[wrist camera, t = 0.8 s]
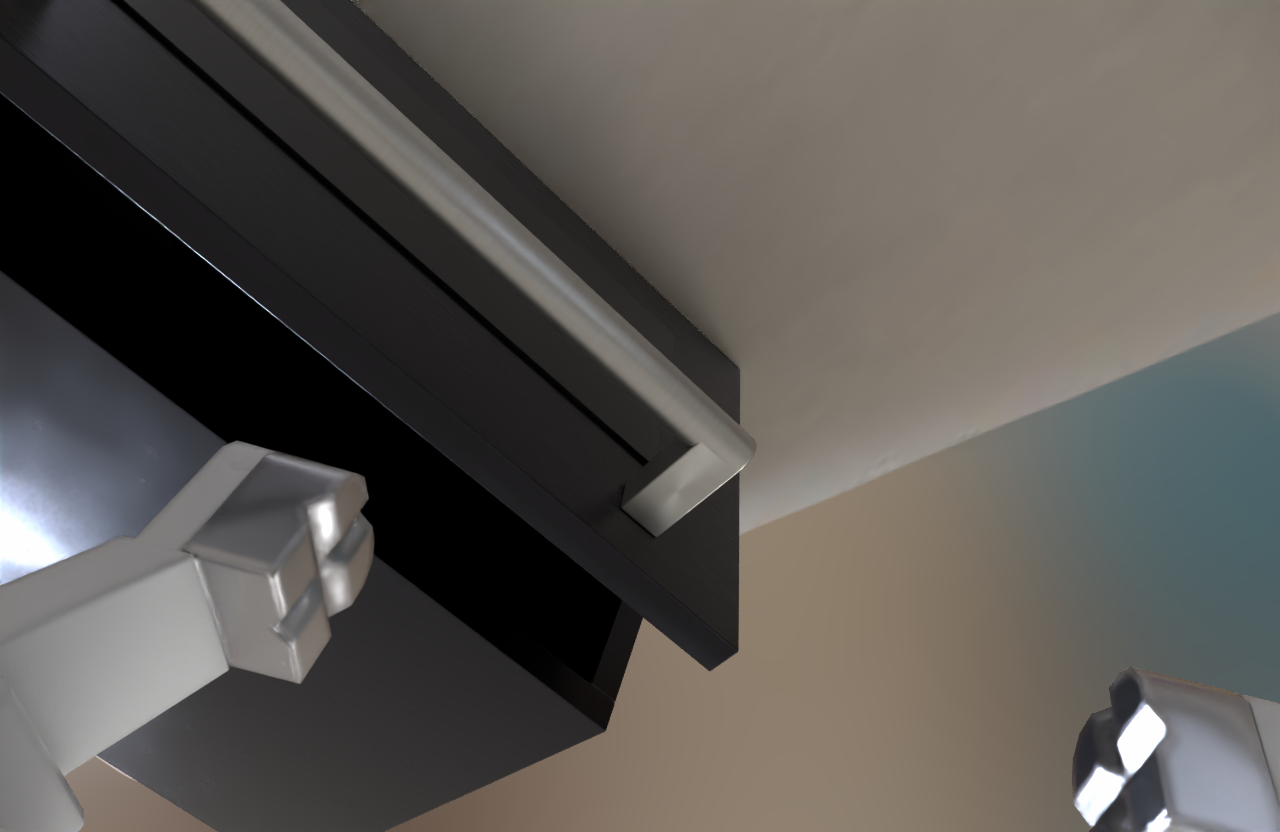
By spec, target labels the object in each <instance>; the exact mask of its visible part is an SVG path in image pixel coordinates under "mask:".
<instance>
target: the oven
mask: <svg viewBox="0 0 1280 832" xmlns="http://www.w3.org/2000/svg"><path fill="white" fill-rule="evenodd" d="M234 441H240V442H244V443H248V444H251V445H255V446H259V447H262V448H266V449H270V450H273V451H279V452H282V453H286V454H290V455H293V456H297V457H300V458H304V459H307V460H311V461H315V462H318V463H322V464H325V465H329V466H332V467H336V468H340V469H343V470H347V471H350V472H354V473H357V474H359V475H361V476H363V477H365V482H366V487H367V493H368V498H369V499H368V500H367V502H366V503H365V505H364V506H363V508H362V509H361V510H360V512H361V513H362V515H363V516H364V517H365V518H366V519H367V521H368V522H369V523H370V524H371V525H372V527H373V534H374V552H373V561H372V564H371V567H370V570H369V572H368V575H367V578H366V581H365V584H364V586H363V588H362V589H361V591H360V592H359V594H358V596H357V597H356V599H355V601H354V602H353V604H352V605H351V606H349V607H347V608H346V609H344V610H342V611H340V612H338V613H336V614H334V615H332V616H330V617H329V622H330V629H331V638H330V639H329V641H328V642H327V644H326V646H325V647H324V649H323V650H322V652H321V653H320V655H319V656H318V658H317V659H316V661H315V662H314V664H313V665H312V667H311V668H310V670H309V672H308V673H307V675H306V676H305V678H304V679H303V681H302V682H301V684H299V683H295V682H291V681H287V680H283V679H279V678H276V677H272V676H268V675H264V674H260V673H256V672H252V671H249V670H245V669H241V668H237V667H233V666H229V665H228V667H229V670H228V671H227V672H225V673H223V674H222V675H220V676H219V677H217V678H216V679H214V680H213V681H211V682H209V683H208V684H206V685H205V686H203V687H202V688H200V689H199V690H197V691H195V692H194V693H192V694H191V695H189V696H188V697H186V698H185V699H183V700H181V701H180V702H178V703H177V704H175V705H174V706H172V707H171V708H169V709H167V710H166V711H164V712H163V713H161V714H160V715H158V716H157V717H155V718H153V719H152V720H150V721H149V722H147V723H146V724H144V725H143V726H141V727H139V728H138V729H136V730H135V731H133V732H132V733H130V734H129V735H127V736H125V737H124V738H122V739H121V740H119V741H118V742H116V743H114V744H113V745H111V746H110V747H108V748H107V749H105V750H104V751H102V752H100V753H99V754H97V756H98V757H100V758H102V759H103V760H105V761H106V762H108V763H109V764H111V765H113V766H114V767H116V768H117V769H119V770H121V771H122V772H124V773H125V774H127V775H129V776H130V777H132V778H133V779H135V780H137V781H138V782H140V783H142V784H143V785H145V786H146V787H148V788H149V789H151V790H153V791H154V792H156V793H157V794H159V795H161V796H162V797H164V798H165V799H167V800H169V801H170V802H172V803H173V804H175V805H177V806H178V807H180V808H181V809H183V810H184V811H186V812H188V813H189V814H191V815H192V816H194V817H196V818H197V819H199V820H201V821H202V822H204V823H205V824H207V825H208V826H210V827H211V828H213V829H215V830H216V831H218V832H385V831H386V830H389V829H391V828H393V827H396V826H398V825H400V824H402V823H404V822H407V821H409V820H411V819H413V818H415V817H418V816H420V815H422V814H424V813H426V812H429V811H431V810H433V809H435V808H437V807H439V806H442V805H444V804H446V803H449V802H450V801H453V800H455V799H457V798H460V797H462V796H464V795H466V794H468V793H471V792H473V791H475V790H477V789H479V788H482V787H484V786H486V785H488V784H490V783H492V782H495V781H497V780H499V779H502V778H504V777H506V776H508V775H510V774H512V773H515V772H517V771H519V770H521V769H524V768H526V767H528V766H530V765H532V764H534V763H537V762H539V761H541V760H543V759H546V758H548V757H550V756H552V755H555V754H557V753H559V752H561V751H563V750H565V749H568V748H570V747H572V746H574V745H576V744H579V743H581V742H583V741H585V740H588V739H590V738H592V737H594V736H596V735H599V734H601V733H603V732H605V731H606V728H607V725H608V723H609V720H610V716H611V713H612V710H613V707H614V704H615V703H614V702H615V701H616V698H617V694H618V692H619V688H620V686H621V682H622V679H623V676H624V673H625V670H626V667H627V664H628V661H629V658H630V655H631V652H632V649H633V646H634V643H635V640H636V637H637V634H638V631H639V628H640V625H641V622H642V619H643V617H642V616H641V615H640V614H639V613H637V612H636V611H635V610H634V609H632V608H631V607H630V606H629V605H628V604H626V603H625V602H624V601H623V600H621V599H620V598H619V597H618V596H617V595H615V594H614V593H613V592H612V591H610V590H609V589H608V588H607V587H605V586H604V585H603V584H602V583H601V582H599V581H598V580H597V579H596V578H594V577H593V576H592V575H591V574H590V573H588V572H587V571H586V570H585V569H583V568H582V567H581V566H580V565H578V564H577V563H576V562H575V561H574V560H572V559H571V558H570V557H569V556H567V555H566V554H565V553H564V552H563V551H561V550H560V549H559V548H558V547H556V546H555V545H554V544H553V543H552V542H550V541H549V540H548V539H547V538H545V537H544V536H543V535H542V534H540V533H539V532H538V531H537V530H536V529H534V528H533V527H532V526H531V525H529V524H528V523H527V522H526V521H525V520H523V519H522V518H521V517H520V516H518V515H517V514H516V513H515V512H514V511H512V510H511V509H510V508H509V507H507V506H506V505H505V504H504V503H502V502H501V501H500V500H499V499H498V498H496V497H495V496H494V495H493V494H491V493H490V492H489V491H488V490H487V489H485V488H484V487H483V486H482V485H480V484H479V483H478V482H477V481H476V480H474V479H473V478H472V477H471V476H469V475H468V474H467V473H466V472H464V471H463V470H462V469H461V468H460V467H458V466H457V465H456V464H455V463H453V462H452V461H451V460H450V459H449V458H447V457H446V456H445V455H444V454H442V453H441V452H440V451H439V450H438V449H436V448H435V447H434V446H433V445H431V444H430V443H429V442H428V441H426V440H425V439H424V438H423V437H422V436H420V435H419V434H418V433H417V432H415V431H414V430H413V429H412V428H411V427H409V426H408V425H407V424H406V423H404V422H403V421H402V420H401V419H400V418H398V417H397V416H396V415H395V414H393V413H392V412H391V411H390V410H388V409H387V408H386V407H385V406H384V405H382V404H381V403H380V402H379V401H377V400H376V399H375V398H374V397H373V396H371V395H370V394H369V393H368V392H366V391H365V390H364V389H363V388H362V387H360V386H359V385H358V384H357V383H355V382H354V381H353V380H352V379H350V378H349V377H348V376H347V375H346V374H344V373H343V372H342V371H341V370H339V369H338V368H337V367H336V366H335V365H333V364H332V363H331V362H330V361H328V360H327V359H326V358H325V357H324V356H322V355H321V354H320V353H319V352H317V351H316V350H315V349H314V348H312V347H311V346H310V345H309V344H308V343H306V342H305V341H304V340H303V339H301V338H300V337H299V336H298V335H297V334H295V333H294V332H293V331H292V330H290V329H289V328H288V327H287V326H285V325H284V324H283V323H282V322H281V321H279V320H278V319H277V318H276V317H274V316H273V315H272V314H271V313H270V312H268V311H267V310H266V309H265V308H263V307H262V306H261V305H260V304H259V303H257V302H256V301H255V300H254V299H252V298H251V297H250V296H249V295H247V294H246V293H245V292H244V291H243V290H241V289H240V288H239V287H238V286H236V285H235V284H234V283H233V282H232V281H230V280H229V279H228V278H227V277H225V276H224V275H223V274H222V273H221V272H219V271H218V270H217V269H216V268H214V267H213V266H212V265H211V264H209V263H208V262H207V261H206V260H205V259H203V258H202V257H201V256H200V255H198V254H197V253H196V252H195V251H194V250H192V249H191V248H190V247H189V246H187V245H186V244H185V243H184V242H183V241H181V240H180V239H179V238H178V237H176V236H175V235H174V234H173V233H171V232H170V231H169V230H168V229H167V228H165V227H164V226H163V225H162V224H160V223H159V222H158V221H157V220H156V219H154V218H153V217H152V216H151V215H149V214H148V213H147V212H146V211H145V210H143V209H142V208H141V207H140V206H138V205H137V204H136V203H135V202H133V201H132V200H131V199H130V198H129V197H127V196H126V195H125V194H124V193H122V192H121V191H120V190H119V189H118V188H116V187H115V186H114V185H113V184H111V183H110V182H109V181H108V180H107V179H105V178H104V177H103V176H102V175H100V174H99V173H98V172H97V171H95V170H94V169H93V168H92V167H91V166H89V165H88V164H87V163H86V162H84V161H83V160H82V159H81V158H80V157H78V156H77V155H76V154H75V153H73V152H72V151H71V150H70V149H69V148H67V147H66V146H65V145H64V144H62V143H61V142H60V141H59V140H57V139H56V138H55V137H54V136H53V135H51V134H50V133H49V132H48V131H46V130H45V129H44V128H43V127H42V126H40V125H39V124H38V123H37V122H35V121H34V120H33V119H32V118H30V117H29V116H28V115H27V114H26V113H24V112H23V111H22V110H21V109H19V108H18V107H17V106H16V105H15V104H13V103H12V102H11V101H10V100H8V99H7V98H6V97H5V96H4V95H2V94H1V93H0V585H2V584H5V583H7V582H10V581H12V580H15V579H17V578H19V577H22V576H24V575H27V574H29V573H32V572H34V571H37V570H39V569H41V568H44V567H46V566H49V565H51V564H54V563H56V562H59V561H61V560H63V559H66V558H68V557H71V556H73V555H76V554H78V553H80V552H83V551H85V550H88V549H90V548H93V547H95V546H98V545H100V544H102V543H105V542H107V541H110V540H112V539H115V538H117V537H120V536H122V535H123V536H127V537H132V538H135V537H136V536H137V535H138V534H139V533H140V532H141V531H142V530H143V529H144V528H145V527H146V526H147V525H148V524H149V523H150V522H151V521H152V520H153V519H154V517H155V516H156V515H157V514H158V513H159V512H160V511H161V510H162V509H163V508H164V507H165V506H166V505H167V504H168V503H169V502H170V501H171V500H172V499H173V498H174V497H175V495H176V494H177V493H178V492H179V491H180V490H181V489H182V488H183V487H184V486H185V485H186V484H187V483H188V482H189V481H190V480H191V479H192V478H193V477H194V476H195V475H196V473H197V472H198V471H199V470H200V469H201V468H202V467H203V466H204V465H205V464H206V463H207V462H208V461H209V460H210V459H211V458H212V457H213V456H214V455H215V454H216V453H217V451H218V450H219V449H220V448H222V447H223V446H225V445H227V444H230V443H232V442H234Z"/></svg>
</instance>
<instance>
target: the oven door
mask: <svg viewBox="0 0 1280 832" xmlns="http://www.w3.org/2000/svg"><path fill="white" fill-rule="evenodd" d="M0 93H1V94H2V95H4V96H5V97H6V98H7V99H8V100H10V101H11V102H12V103H13V104H15V105H16V106H17V107H18V108H19V109H21V110H22V111H23V112H24V113H26V114H27V115H28V116H29V117H30V118H32V119H33V120H34V121H35V122H37V123H38V124H39V125H40V126H42V127H43V128H44V129H45V130H46V131H48V132H49V133H50V134H51V135H53V136H54V137H55V138H56V139H57V140H59V141H60V142H61V143H62V144H64V145H65V146H66V147H67V148H69V149H70V150H71V151H72V152H73V153H75V154H76V155H77V156H78V157H80V158H81V159H82V160H83V161H84V162H86V163H87V164H88V165H89V166H91V167H92V168H93V169H94V170H95V171H97V172H98V173H99V174H100V175H102V176H103V177H104V178H105V179H107V180H108V181H109V182H110V183H111V184H113V185H114V186H115V187H116V188H118V189H119V190H120V191H121V192H122V193H124V194H125V195H126V196H127V197H129V198H130V199H131V200H132V201H133V202H135V203H136V204H137V205H138V206H140V207H141V208H142V209H143V210H145V211H146V212H147V213H148V214H149V215H151V216H152V217H153V218H154V219H156V220H157V221H158V222H159V223H160V224H162V225H163V226H164V227H165V228H167V229H168V230H169V231H170V232H171V233H173V234H174V235H175V236H176V237H178V238H179V239H180V240H181V241H183V242H184V243H185V244H186V245H187V246H189V247H190V248H191V249H192V250H194V251H195V252H196V253H197V254H198V255H200V256H201V257H202V258H203V259H205V260H206V261H207V262H208V263H209V264H211V265H212V266H213V267H214V268H216V269H217V270H218V271H219V272H221V273H222V274H223V275H224V276H225V277H227V278H228V279H229V280H230V281H232V282H233V283H234V284H235V285H236V286H238V287H239V288H240V289H241V290H243V291H244V292H245V293H246V294H247V295H249V296H250V297H251V298H252V299H254V300H255V301H256V302H257V303H259V304H260V305H261V306H262V307H263V308H265V309H266V310H267V311H268V312H270V313H271V314H272V315H273V316H274V317H276V318H277V319H278V320H279V321H281V322H282V323H283V324H284V325H285V326H287V327H288V328H289V329H290V330H292V331H293V332H294V333H295V334H297V335H298V336H299V337H300V338H301V339H303V340H304V341H305V342H306V343H308V344H309V345H310V346H311V347H312V348H314V349H315V350H316V351H317V352H319V353H320V354H321V355H322V356H324V357H325V358H326V359H327V360H328V361H330V362H331V363H332V364H333V365H335V366H336V367H337V368H338V369H339V370H341V371H342V372H343V373H344V374H346V375H347V376H348V377H349V378H350V379H352V380H353V381H354V382H355V383H357V384H358V385H359V386H360V387H362V388H363V389H364V390H365V391H366V392H368V393H369V394H370V395H371V396H373V397H374V398H375V399H376V400H377V401H379V402H380V403H381V404H382V405H384V406H385V407H386V408H387V409H388V410H390V411H391V412H392V413H393V414H395V415H396V416H397V417H398V418H400V419H401V420H402V421H403V422H404V423H406V424H407V425H408V426H409V427H411V428H412V429H413V430H414V431H415V432H417V433H418V434H419V435H420V436H422V437H423V438H424V439H425V440H426V441H428V442H429V443H430V444H431V445H433V446H434V447H435V448H436V449H438V450H439V451H440V452H441V453H442V454H444V455H445V456H446V457H447V458H449V459H450V460H451V461H452V462H453V463H455V464H456V465H457V466H458V467H460V468H461V469H462V470H463V471H464V472H466V473H467V474H468V475H469V476H471V477H472V478H473V479H474V480H476V481H477V482H478V483H479V484H480V485H482V486H483V487H484V488H485V489H487V490H488V491H489V492H490V493H491V494H493V495H494V496H495V497H496V498H498V499H499V500H500V501H501V502H502V503H504V504H505V505H506V506H507V507H509V508H510V509H511V510H512V511H514V512H515V513H516V514H517V515H518V516H520V517H521V518H522V519H523V520H525V521H526V522H527V523H528V524H529V525H531V526H532V527H533V528H534V529H536V530H537V531H538V532H539V533H540V534H542V535H543V536H544V537H545V538H547V539H548V540H549V541H550V542H552V543H553V544H554V545H555V546H556V547H558V548H559V549H560V550H561V551H563V552H564V553H565V554H566V555H567V556H569V557H570V558H571V559H572V560H574V561H575V562H576V563H577V564H578V565H580V566H581V567H582V568H583V569H585V570H586V571H587V572H588V573H590V574H591V575H592V576H593V577H594V578H596V579H597V580H598V581H599V582H601V583H602V584H603V585H604V586H605V587H607V588H608V589H609V590H610V591H612V592H613V593H614V594H615V595H617V596H618V597H619V598H620V599H621V600H623V601H624V602H625V603H626V604H628V605H629V606H630V607H631V608H632V609H634V610H635V611H636V612H637V613H639V614H640V615H641V616H642V617H643V618H645V619H646V620H647V621H648V622H650V623H651V624H652V625H653V626H655V627H656V628H657V629H658V630H659V631H661V632H662V633H663V634H664V635H666V636H667V637H668V638H669V639H671V640H672V641H673V642H674V643H675V644H677V645H678V646H679V647H680V648H681V649H683V650H684V651H685V652H687V653H688V654H689V655H690V656H691V657H693V658H694V659H695V660H696V661H697V662H699V663H700V664H701V665H702V666H704V667H705V668H706V669H707V670H708V671H711V670H713V669H714V668H715V667H717V666H718V665H720V664H721V663H723V662H724V661H726V660H727V659H728V658H730V657H731V656H733V655H734V654H735V653H737V652H738V640H739V639H738V636H739V635H738V634H739V472H740V471H741V470H742V469H743V468H744V467H745V466H746V464H747V463H748V462H749V461H750V459H751V458H752V456H753V455H754V453H755V450H756V447H757V443H756V441H755V439H754V438H753V437H751V436H750V435H749V434H748V433H747V432H746V431H745V430H744V429H743V428H742V427H741V426H740V369H739V368H737V367H736V366H735V365H734V364H733V363H732V362H731V361H730V360H729V359H728V358H727V357H726V356H725V355H724V354H723V353H722V352H721V351H720V350H718V349H717V348H716V347H715V346H714V345H713V344H712V343H711V342H710V341H709V340H708V339H707V338H706V337H705V336H704V335H703V334H702V333H701V332H699V331H698V330H697V329H696V328H695V327H694V326H693V325H692V324H691V323H690V322H689V321H688V320H687V319H686V318H685V317H684V316H683V315H682V314H680V313H679V312H678V311H677V310H676V309H675V308H674V307H673V306H672V305H671V304H670V303H669V302H668V301H667V300H666V299H665V298H664V297H663V296H661V295H660V294H659V293H658V292H657V291H656V290H655V289H654V288H653V287H652V286H651V285H650V284H649V283H648V282H647V281H646V280H645V279H644V278H643V277H641V276H640V275H639V274H638V273H637V272H636V271H635V270H634V269H633V268H632V267H631V266H630V265H629V264H628V263H627V262H626V261H625V260H624V259H622V258H621V257H620V256H619V255H618V254H617V253H616V252H615V251H614V250H613V249H612V248H611V247H610V246H609V245H608V244H607V243H606V242H605V241H603V240H602V239H601V238H600V237H599V236H598V235H597V234H596V233H595V232H594V231H593V230H592V229H591V228H590V227H589V226H588V225H587V224H586V223H584V222H583V221H582V220H581V219H580V218H579V217H578V216H577V215H576V214H575V213H574V212H573V211H572V210H571V209H570V208H569V207H568V206H567V205H565V204H564V203H563V202H562V201H561V200H560V199H559V198H558V197H557V196H556V195H555V194H554V193H553V192H552V191H551V190H550V189H549V188H548V187H547V186H545V185H544V184H543V183H542V182H541V181H540V180H539V179H538V178H537V177H536V176H535V175H534V174H533V173H532V172H531V171H530V170H529V169H528V168H526V167H525V166H524V165H523V164H522V163H521V162H520V161H519V160H518V159H517V158H516V157H515V156H514V155H513V154H512V153H511V152H510V151H509V150H507V149H506V148H505V147H504V146H503V145H502V144H501V143H500V142H499V141H498V140H497V139H496V138H495V137H494V136H493V135H492V134H491V133H490V132H488V131H487V130H486V129H485V128H484V127H483V126H482V125H481V124H480V123H479V122H478V121H477V120H476V119H475V118H474V117H473V116H472V115H471V114H469V113H468V112H467V111H466V110H465V109H464V108H463V107H462V106H461V105H460V104H459V103H458V102H457V101H456V100H455V99H454V98H453V97H452V96H451V95H449V94H448V93H447V92H446V91H445V90H444V89H443V88H442V87H441V86H440V85H439V84H438V83H437V82H436V81H435V80H434V79H433V78H432V77H430V76H429V75H428V74H427V73H426V72H425V71H424V70H423V69H422V68H421V67H420V66H419V65H418V64H417V63H416V62H415V61H414V60H413V59H411V58H410V57H409V56H408V55H407V54H406V53H405V52H404V51H403V50H402V49H401V48H400V47H399V46H398V45H397V44H396V43H395V42H394V41H392V40H391V39H390V38H389V37H388V36H387V35H386V34H385V33H384V32H383V31H382V30H381V29H380V28H379V27H378V26H377V25H376V24H375V23H373V22H372V21H371V20H370V19H369V18H368V17H367V16H366V15H365V14H364V13H363V12H362V11H361V10H360V9H359V8H358V7H357V6H356V5H355V4H353V3H352V2H351V1H350V0H0Z"/></svg>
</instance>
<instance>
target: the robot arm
mask: <svg viewBox="0 0 1280 832" xmlns="http://www.w3.org/2000/svg"><path fill="white" fill-rule="evenodd" d="M368 499H369V498H368V493H367V487H366V482H365V477H363V476H361V475H359V474H357V473H354V472H350V471H347V470H343V469H340V468H336V467H332V466H329V465H325V464H322V463H318V462H315V461H311V460H307V459H304V458H300V457H297V456H293V455H290V454H286V453H282V452H279V451H273V450H270V449H266V448H262V447H259V446H255V445H251V444H248V443H244V442H240V441H234V442H232V443H230V444H227V445H225V446H223V447H222V448H220V449H219V450H218V451H217V453H216V454H215V455H214V456H213V457H212V458H211V459H210V460H209V461H208V462H207V463H206V464H205V465H204V466H203V467H202V468H201V469H200V470H199V471H198V472H197V473H196V475H195V476H194V477H193V478H192V479H191V480H190V481H189V482H188V483H187V484H186V485H185V486H184V487H183V488H182V489H181V490H180V491H179V492H178V493H177V494H176V495H175V497H174V498H173V499H172V500H171V501H170V502H169V503H168V504H167V505H166V506H165V507H164V508H163V509H162V510H161V511H160V512H159V513H158V514H157V515H156V516H155V517H154V519H153V520H152V521H151V522H150V523H149V524H148V525H147V526H146V527H145V528H144V529H143V530H142V531H141V532H140V533H139V534H138V535H137V536H136V537H135V538H132V537H127V536H123V535H122V536H120V537H117V538H115V539H112V540H110V541H107V542H105V543H102V544H100V545H98V546H95V547H93V548H90V549H88V550H85V551H83V552H80V553H78V554H76V555H73V556H71V557H68V558H66V559H63V560H61V561H59V562H56V563H54V564H51V565H49V566H46V567H44V568H41V569H39V570H37V571H34V572H32V573H29V574H27V575H24V576H22V577H19V578H17V579H15V580H12V581H10V582H7V583H5V584H2V585H0V832H79V830H80V829H81V828H82V826H83V825H84V824H85V823H84V812H83V808H82V807H81V805H80V804H79V802H78V800H77V798H76V797H75V795H74V793H73V791H72V790H71V788H70V786H69V785H68V783H67V781H66V779H65V778H64V776H65V775H66V774H68V773H69V772H71V771H72V770H74V769H76V768H77V767H79V766H80V765H82V764H83V763H85V762H86V761H88V760H90V759H91V758H93V757H94V756H96V755H97V754H99V753H100V752H102V751H104V750H105V749H107V748H108V747H110V746H111V745H113V744H114V743H116V742H118V741H119V740H121V739H122V738H124V737H125V736H127V735H129V734H130V733H132V732H133V731H135V730H136V729H138V728H139V727H141V726H143V725H144V724H146V723H147V722H149V721H150V720H152V719H153V718H155V717H157V716H158V715H160V714H161V713H163V712H164V711H166V710H167V709H169V708H171V707H172V706H174V705H175V704H177V703H178V702H180V701H181V700H183V699H185V698H186V697H188V696H189V695H191V694H192V693H194V692H195V691H197V690H199V689H200V688H202V687H203V686H205V685H206V684H208V683H209V682H211V681H213V680H214V679H216V678H217V677H219V676H220V675H222V674H223V673H225V672H227V671H228V670H229V667H228V665H229V666H233V667H237V668H241V669H245V670H249V671H252V672H256V673H260V674H264V675H268V676H272V677H276V678H279V679H283V680H287V681H291V682H295V683H299V684H301V682H302V681H303V679H304V678H305V676H306V675H307V673H308V672H309V670H310V668H311V667H312V665H313V664H314V662H315V661H316V659H317V658H318V656H319V655H320V653H321V652H322V650H323V649H324V647H325V646H326V644H327V642H328V641H329V639H330V638H331V629H330V622H329V617H330V616H332V615H334V614H336V613H338V612H340V611H342V610H344V609H346V608H347V607H349V606H351V605H352V604H353V602H354V601H355V599H356V597H357V596H358V594H359V592H360V591H361V589H362V588H363V586H364V584H365V581H366V578H367V575H368V572H369V570H370V567H371V564H372V561H373V552H374V534H373V527H372V525H371V524H370V523H369V522H368V521H367V519H366V518H365V517H364V516H363V515H362V513H361V512H360V510H361V509H362V508H363V506H364V505H365V503H366V502H367V500H368ZM1109 691H1110V697H1111V704H1112V707H1109V708H1107V709H1104V710H1101V711H1098V712H1096V713H1093V714H1091V716H1090V718H1089V719H1088V721H1087V722H1086V724H1085V726H1084V727H1083V729H1082V731H1081V732H1080V734H1079V738H1078V742H1077V746H1076V749H1075V753H1074V757H1073V770H1072V787H1073V798H1074V804H1075V806H1076V807H1077V808H1078V810H1079V811H1080V813H1081V814H1082V815H1083V817H1084V818H1085V820H1086V821H1087V822H1088V824H1089V825H1090V826H1091V828H1092V829H1091V830H1090V831H1089V832H1280V704H1279V703H1275V702H1271V701H1267V700H1263V699H1259V698H1255V697H1251V696H1246V695H1243V694H1235V693H1234V692H1232V691H1228V690H1224V689H1220V688H1216V687H1211V686H1208V685H1204V684H1199V683H1195V682H1191V681H1187V680H1182V679H1179V678H1174V677H1170V676H1166V675H1162V674H1158V673H1154V672H1149V671H1145V670H1141V669H1137V668H1133V667H1130V668H1128V669H1126V670H1124V671H1122V672H1121V673H1119V675H1118V676H1117V678H1116V679H1115V681H1114V682H1113V683H1112V685H1111V686H1110V688H1109Z"/></svg>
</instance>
